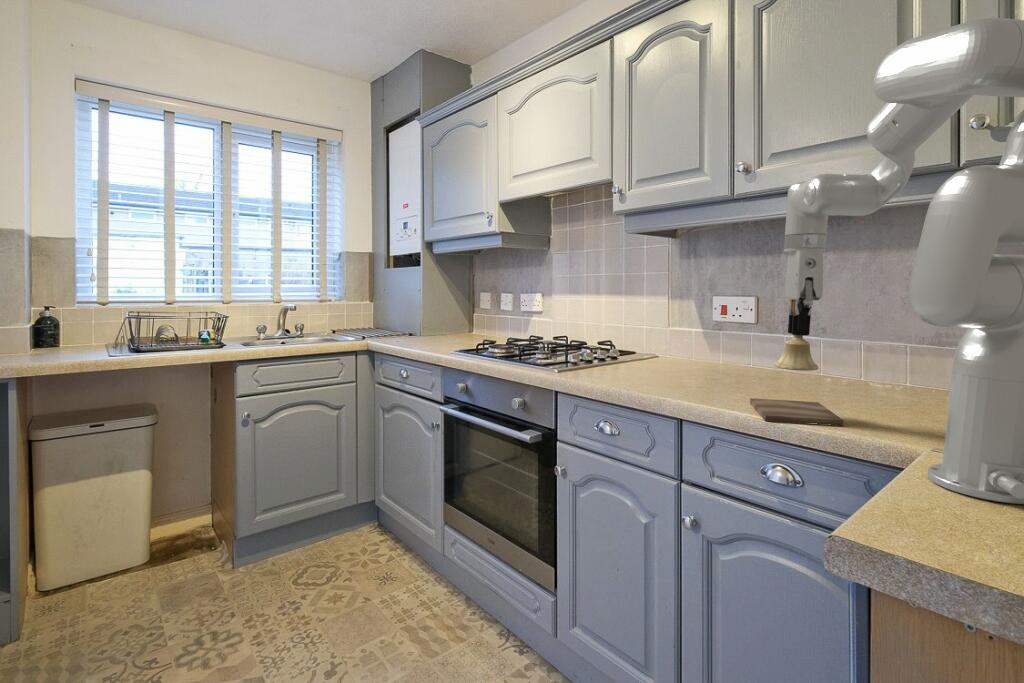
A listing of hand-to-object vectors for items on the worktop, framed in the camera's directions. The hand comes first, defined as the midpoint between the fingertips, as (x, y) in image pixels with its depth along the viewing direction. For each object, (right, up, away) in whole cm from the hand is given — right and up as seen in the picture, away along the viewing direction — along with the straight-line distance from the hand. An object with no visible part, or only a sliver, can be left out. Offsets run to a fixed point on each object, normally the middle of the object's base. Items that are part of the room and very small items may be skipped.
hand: (798, 333), depth 114 cm
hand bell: (0, -7, +1) cm, 7 cm away
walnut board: (0, -17, +2) cm, 17 cm away
